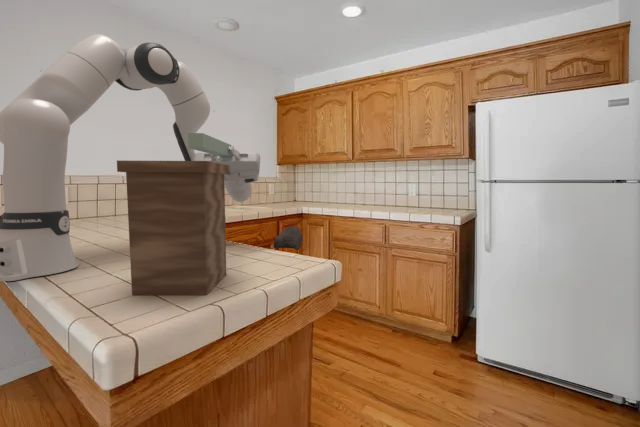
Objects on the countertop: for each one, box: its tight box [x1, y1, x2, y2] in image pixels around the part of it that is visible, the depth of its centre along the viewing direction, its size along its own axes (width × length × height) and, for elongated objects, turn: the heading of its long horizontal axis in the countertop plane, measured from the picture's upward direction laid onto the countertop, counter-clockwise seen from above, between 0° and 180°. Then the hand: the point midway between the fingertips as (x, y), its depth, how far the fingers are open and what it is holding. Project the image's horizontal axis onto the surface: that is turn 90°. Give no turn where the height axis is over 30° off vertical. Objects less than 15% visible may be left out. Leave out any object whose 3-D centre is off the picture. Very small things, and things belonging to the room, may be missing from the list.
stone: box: [273, 225, 304, 251], centre depth 109 cm, size 10×8×10 cm
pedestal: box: [116, 160, 230, 296], centre depth 69 cm, size 16×16×25 cm
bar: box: [188, 132, 232, 156], centre depth 90 cm, size 26×3×3 cm, turn 1°
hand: (222, 147), depth 98 cm, fingers closed on bar, 3 cm apart
